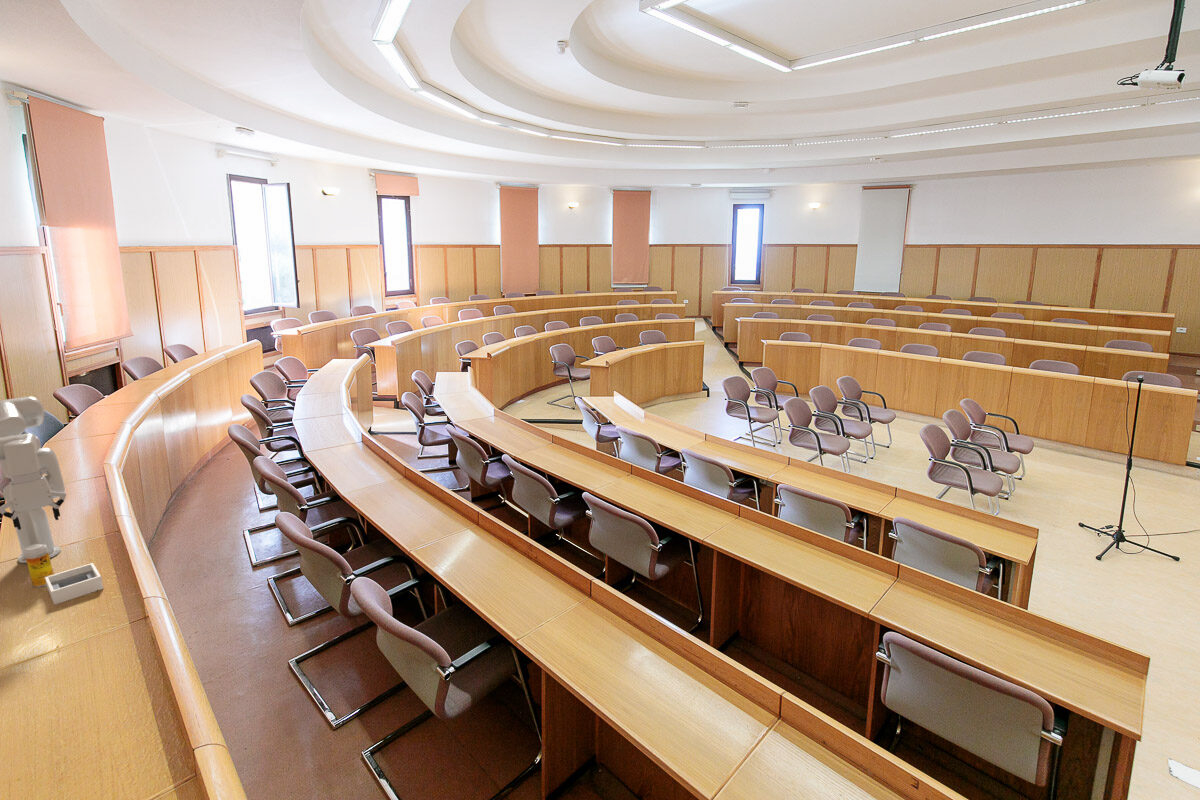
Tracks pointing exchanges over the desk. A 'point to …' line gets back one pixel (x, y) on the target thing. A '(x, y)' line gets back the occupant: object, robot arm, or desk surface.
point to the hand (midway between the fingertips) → (38, 523)
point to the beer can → (38, 563)
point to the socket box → (74, 583)
